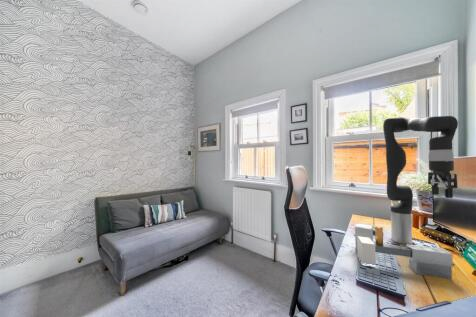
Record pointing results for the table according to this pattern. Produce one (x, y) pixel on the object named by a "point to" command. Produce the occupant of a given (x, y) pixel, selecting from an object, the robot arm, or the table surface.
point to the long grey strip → (389, 248)
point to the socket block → (366, 250)
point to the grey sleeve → (431, 261)
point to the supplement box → (363, 232)
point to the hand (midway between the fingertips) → (441, 196)
